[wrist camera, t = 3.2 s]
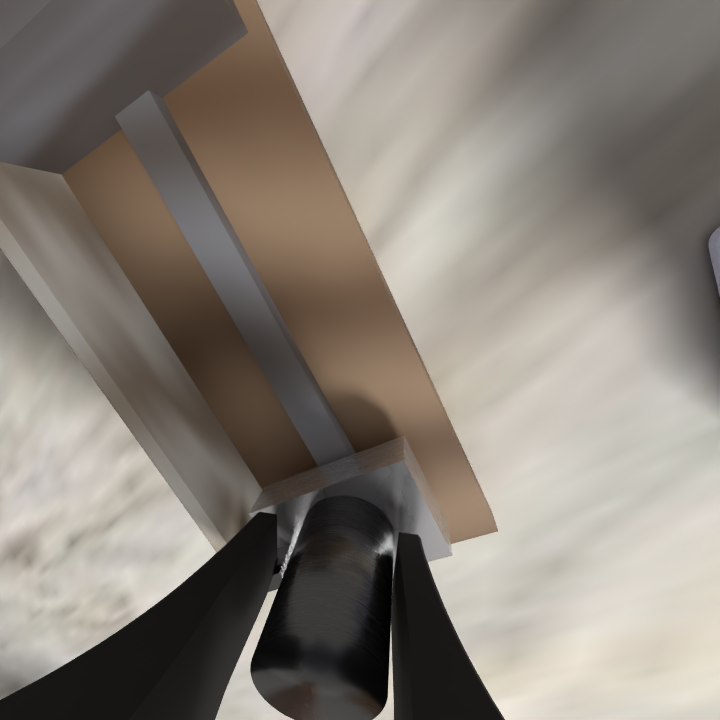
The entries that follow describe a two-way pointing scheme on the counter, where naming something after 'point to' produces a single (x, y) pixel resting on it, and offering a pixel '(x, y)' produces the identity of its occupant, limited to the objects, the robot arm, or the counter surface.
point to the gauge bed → (206, 254)
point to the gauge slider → (340, 580)
